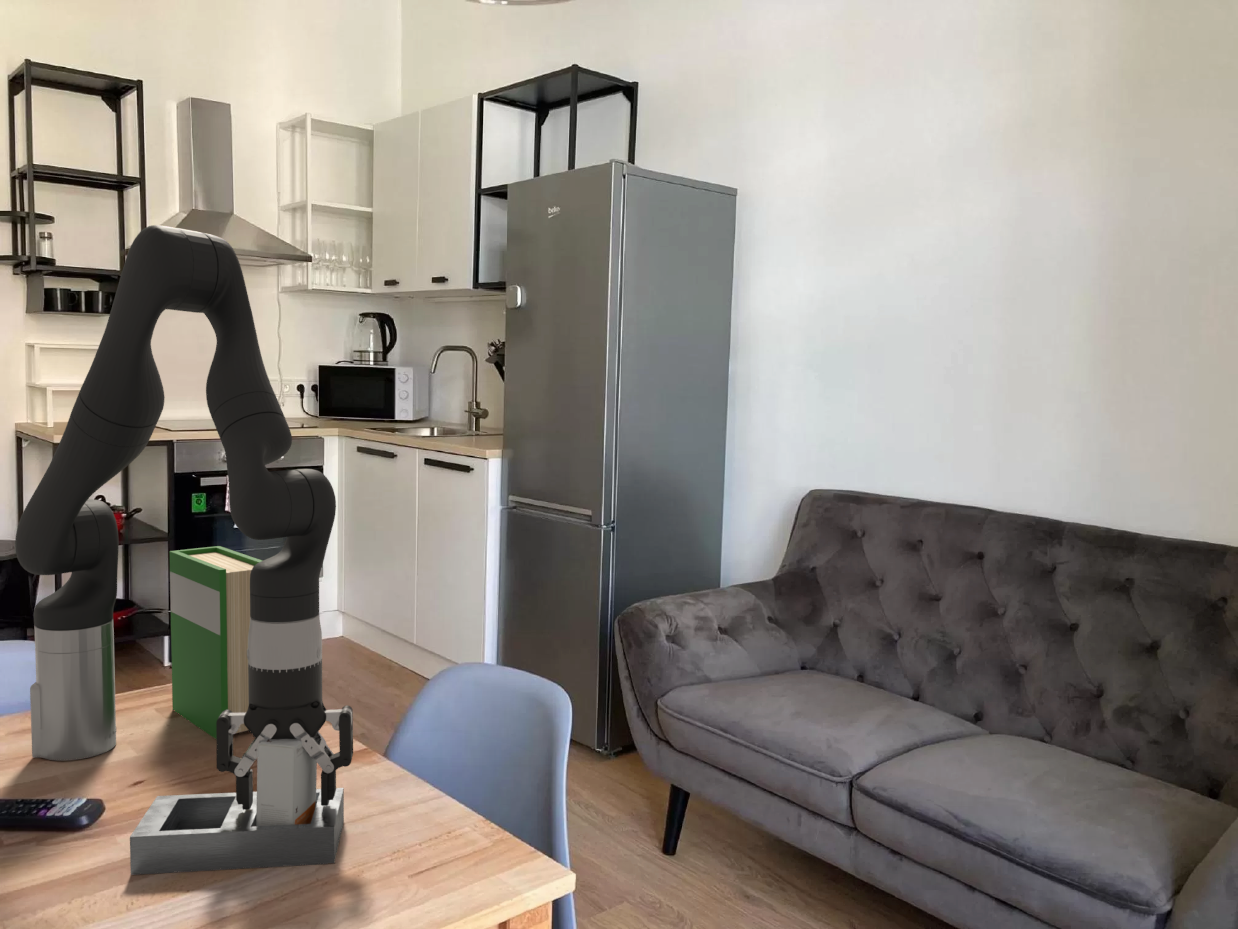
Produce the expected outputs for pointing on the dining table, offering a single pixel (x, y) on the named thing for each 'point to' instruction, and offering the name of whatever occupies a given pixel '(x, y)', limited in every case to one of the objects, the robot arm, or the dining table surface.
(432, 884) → the dining table surface
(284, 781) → the skincare box
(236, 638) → the hardback book
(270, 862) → the holder
